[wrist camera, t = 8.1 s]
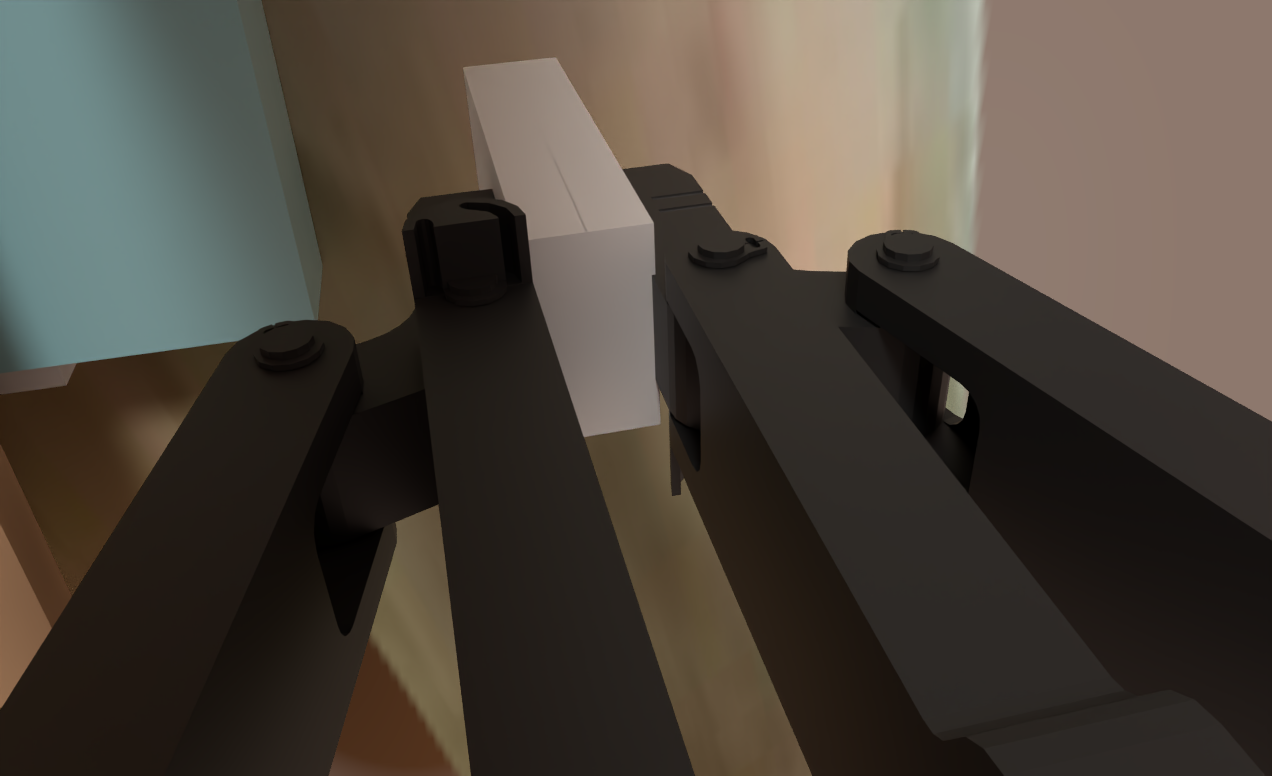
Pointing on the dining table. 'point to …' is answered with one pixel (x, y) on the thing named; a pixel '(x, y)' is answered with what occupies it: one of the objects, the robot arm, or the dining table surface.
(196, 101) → the slate blue rectangular box
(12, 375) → the overhang
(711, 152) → the dining table surface
